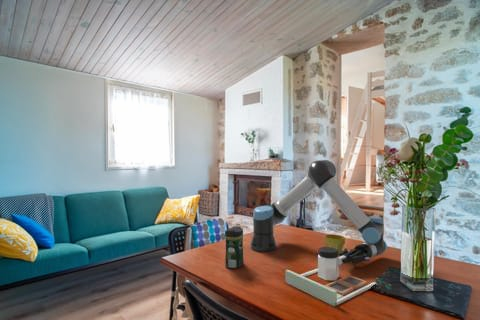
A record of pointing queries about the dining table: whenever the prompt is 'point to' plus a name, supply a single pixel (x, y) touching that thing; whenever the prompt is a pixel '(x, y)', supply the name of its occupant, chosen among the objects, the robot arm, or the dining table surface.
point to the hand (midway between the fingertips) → (336, 261)
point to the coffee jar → (234, 247)
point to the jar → (328, 263)
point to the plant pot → (335, 241)
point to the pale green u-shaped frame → (327, 287)
